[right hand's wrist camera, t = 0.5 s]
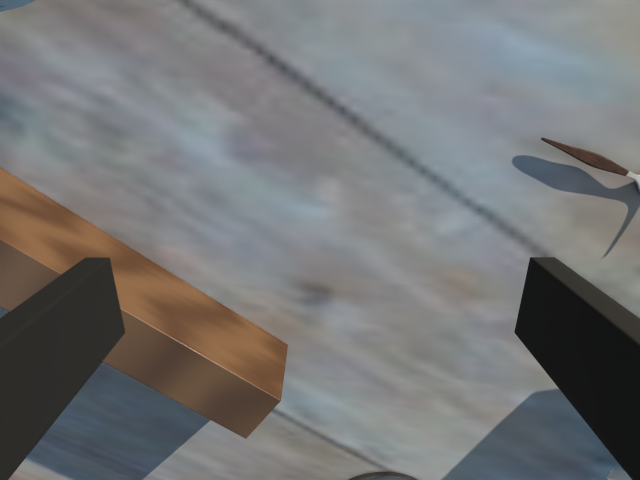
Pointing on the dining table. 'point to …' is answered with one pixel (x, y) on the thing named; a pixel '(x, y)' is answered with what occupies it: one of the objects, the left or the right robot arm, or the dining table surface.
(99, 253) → the bar
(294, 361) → the dining table surface
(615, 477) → the white plastic object
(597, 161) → the fork
